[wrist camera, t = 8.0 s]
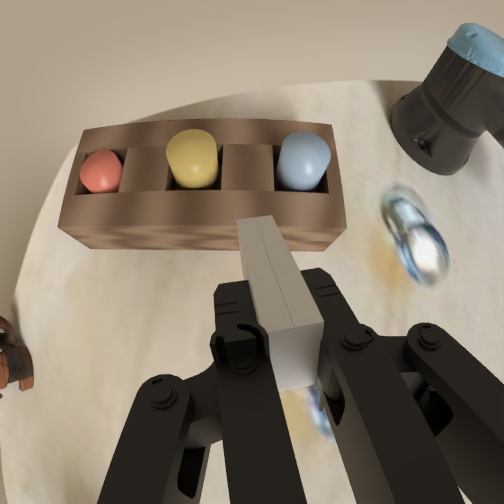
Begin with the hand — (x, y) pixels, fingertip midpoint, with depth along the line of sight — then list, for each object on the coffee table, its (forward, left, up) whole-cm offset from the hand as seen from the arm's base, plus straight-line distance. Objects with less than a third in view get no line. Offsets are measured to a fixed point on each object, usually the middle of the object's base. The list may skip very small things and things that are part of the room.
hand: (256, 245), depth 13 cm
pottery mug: (+32, +10, -20) cm, 39 cm away
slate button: (-5, -11, -13) cm, 18 cm away
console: (+5, -11, -20) cm, 23 cm away
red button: (+15, -11, -16) cm, 24 cm away
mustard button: (+5, -11, -13) cm, 18 cm away
